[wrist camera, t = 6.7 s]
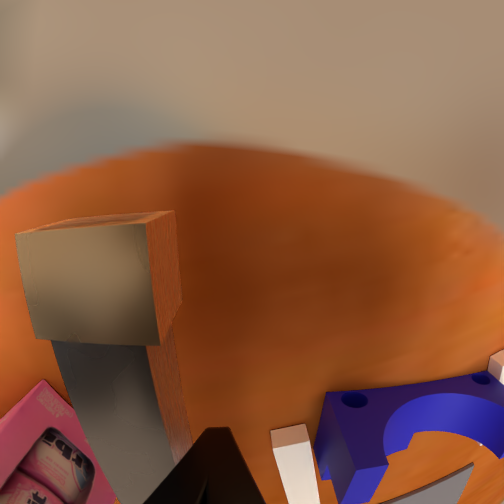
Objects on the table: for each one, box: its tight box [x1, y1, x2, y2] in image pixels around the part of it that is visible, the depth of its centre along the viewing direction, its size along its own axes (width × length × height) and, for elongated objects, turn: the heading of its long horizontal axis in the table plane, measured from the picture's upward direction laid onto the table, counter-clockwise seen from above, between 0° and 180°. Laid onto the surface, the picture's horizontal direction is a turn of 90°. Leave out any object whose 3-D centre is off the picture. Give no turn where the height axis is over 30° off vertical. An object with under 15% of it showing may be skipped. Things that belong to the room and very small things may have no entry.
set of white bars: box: [270, 349, 504, 504], centre depth 16 cm, size 8×24×2 cm, turn 102°
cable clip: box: [313, 371, 504, 504], centre depth 14 cm, size 12×4×6 cm, turn 87°
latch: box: [15, 210, 193, 504], centre depth 10 cm, size 3×19×9 cm, turn 2°
